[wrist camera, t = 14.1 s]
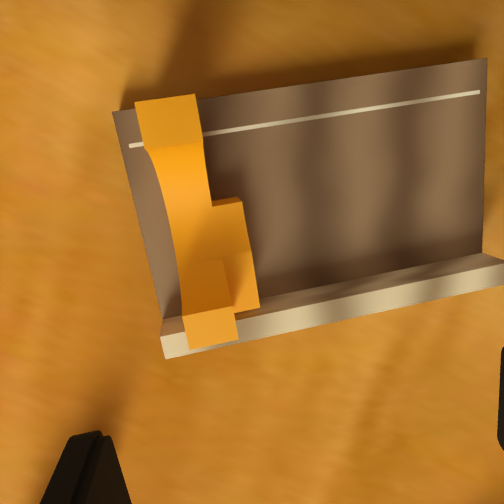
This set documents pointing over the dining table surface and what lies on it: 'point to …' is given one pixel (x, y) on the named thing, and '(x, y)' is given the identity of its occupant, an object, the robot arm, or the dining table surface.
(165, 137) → the pipe clamp
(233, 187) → the board
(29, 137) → the dining table surface
